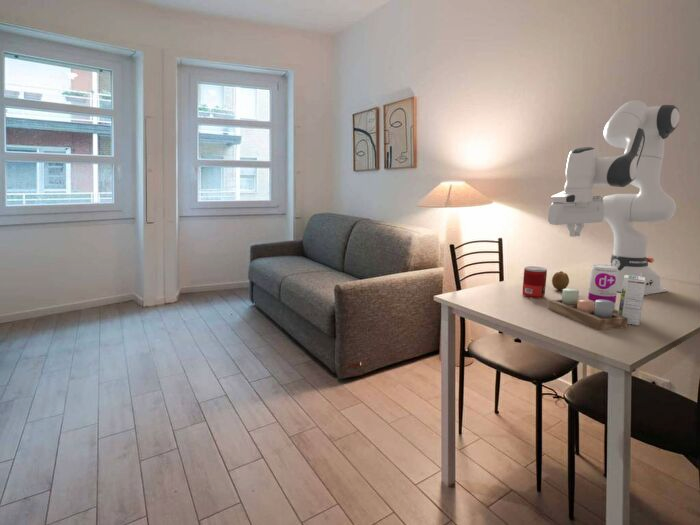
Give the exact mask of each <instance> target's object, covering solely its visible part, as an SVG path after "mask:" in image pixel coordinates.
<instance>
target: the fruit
mask: <svg viewBox="0 0 700 525" xmlns="http://www.w3.org/2000/svg"><path fill="white" fill-rule="evenodd" d="M551 284H552V286H553V288H554V289H556V290H557V291H563V289H567V287H568V286H569V284H570V278H569V275H568V273H566V272H563V271H561V270H560V271H558V272H555V273H554V274H553V275H552V279H551Z"/></svg>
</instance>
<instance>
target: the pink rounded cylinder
mask: <svg viewBox="0 0 700 525" xmlns="http://www.w3.org/2000/svg"><path fill="white" fill-rule="evenodd" d="M594 305H595V302H594V301H592V300H588V298H587V299H586V298H578V303H577V309H579V310H581V311H584V312H588V311H594Z"/></svg>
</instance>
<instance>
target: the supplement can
mask: <svg viewBox="0 0 700 525" xmlns="http://www.w3.org/2000/svg"><path fill="white" fill-rule="evenodd" d="M618 279H619V270H618V267H616V266H611V265H610V264H594V265H593V267H592V268H591V269H590V277H589V284H588V285H589V287H588V296H587V299H588V300H592V301H594V302H595V300H598V299H602V300H609V301H612V302H614V306H613V310H615V309H616V300H617V294H618V293H617V292H618V291H617V287H618ZM594 306H595V305H594Z"/></svg>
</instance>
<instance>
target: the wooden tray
mask: <svg viewBox="0 0 700 525" xmlns="http://www.w3.org/2000/svg"><path fill="white" fill-rule="evenodd" d="M547 308H548V309H549V310H551V311H553V312H555V313H558V314H560V315H562V316H565V317H567V318H570V319H572V320H575V321H577V322H578V323H582V324H584V325H586V324H587V325H586V326H588V325H589V326H588V327H590V328H593V329H595V328H596V329H595V330H598V331H599V330H602V329H603V330H611V328H614V329H622V328H621V327H625V328H627V327H628V324H627V320H628V318H627V317H624V316H621V315H618V313H615V312H613V314H612V318H605V319H602V318H600V317H597V316H594V311H588V312H584V311H581V310H579V309H577V305H569V306H568V305H566V304H563V303H562V298H561V299H559V298H558V299H548V305H547ZM594 309H595V306H594ZM603 330H602V331H603Z"/></svg>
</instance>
